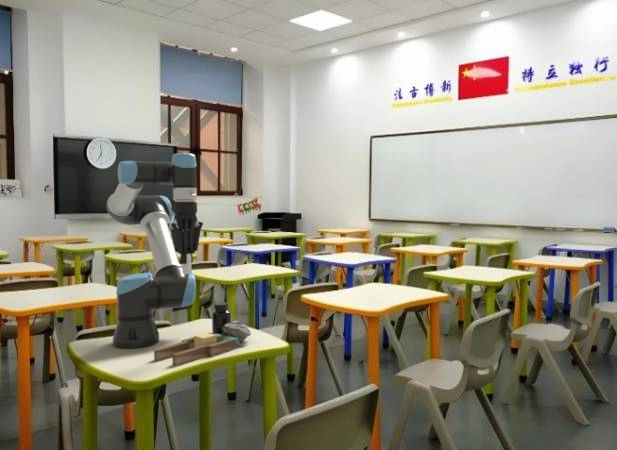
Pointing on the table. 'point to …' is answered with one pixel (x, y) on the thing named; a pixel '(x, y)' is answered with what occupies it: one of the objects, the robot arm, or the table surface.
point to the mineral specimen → (236, 330)
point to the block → (204, 339)
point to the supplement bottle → (220, 317)
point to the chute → (195, 349)
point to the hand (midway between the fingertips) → (187, 273)
